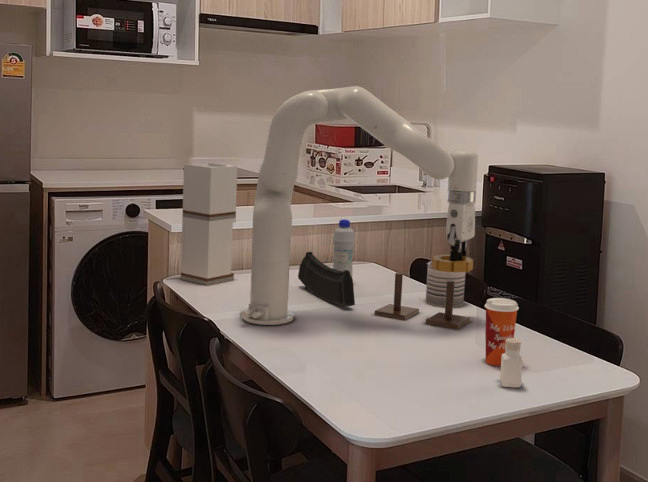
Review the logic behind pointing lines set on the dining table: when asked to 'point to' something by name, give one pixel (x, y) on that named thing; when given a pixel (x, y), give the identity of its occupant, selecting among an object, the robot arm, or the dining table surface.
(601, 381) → the dining table surface
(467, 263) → the ring
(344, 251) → the bottle
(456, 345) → the dining table surface
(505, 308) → the paper cup
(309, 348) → the dining table surface
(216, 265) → the banded square column
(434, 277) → the can
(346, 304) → the magazine
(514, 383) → the salt shaker
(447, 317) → the right peg
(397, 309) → the left peg
